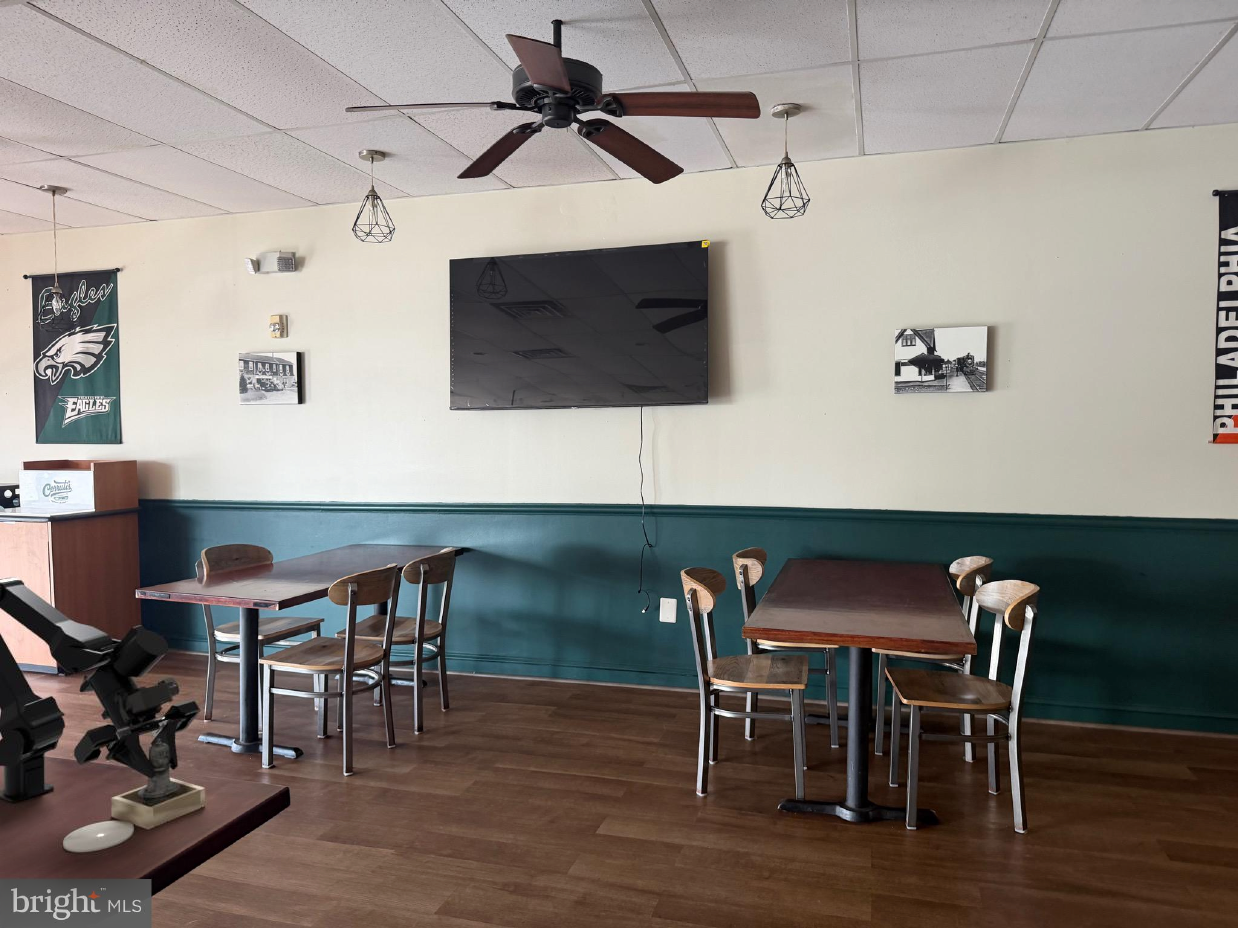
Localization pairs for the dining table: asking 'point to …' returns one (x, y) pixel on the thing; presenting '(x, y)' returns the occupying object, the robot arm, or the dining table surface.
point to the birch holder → (157, 806)
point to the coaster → (98, 836)
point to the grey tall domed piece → (158, 777)
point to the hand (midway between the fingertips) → (164, 772)
